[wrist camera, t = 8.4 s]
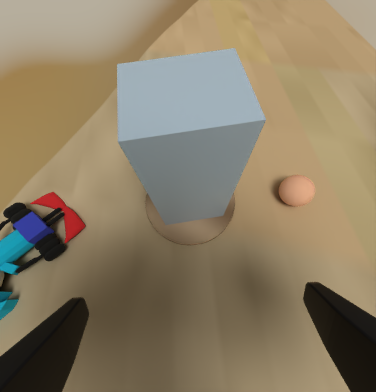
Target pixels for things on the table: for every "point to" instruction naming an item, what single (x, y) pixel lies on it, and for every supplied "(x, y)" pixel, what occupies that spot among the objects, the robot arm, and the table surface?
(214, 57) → the pale blue box
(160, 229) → the coaster
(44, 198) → the toy figure
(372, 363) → the robot arm
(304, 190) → the ball
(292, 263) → the table surface
